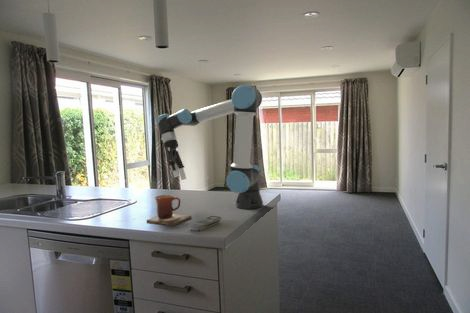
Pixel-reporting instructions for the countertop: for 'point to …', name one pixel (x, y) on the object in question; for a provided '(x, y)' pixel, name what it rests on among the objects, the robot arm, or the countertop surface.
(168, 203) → the mug
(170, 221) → the board
